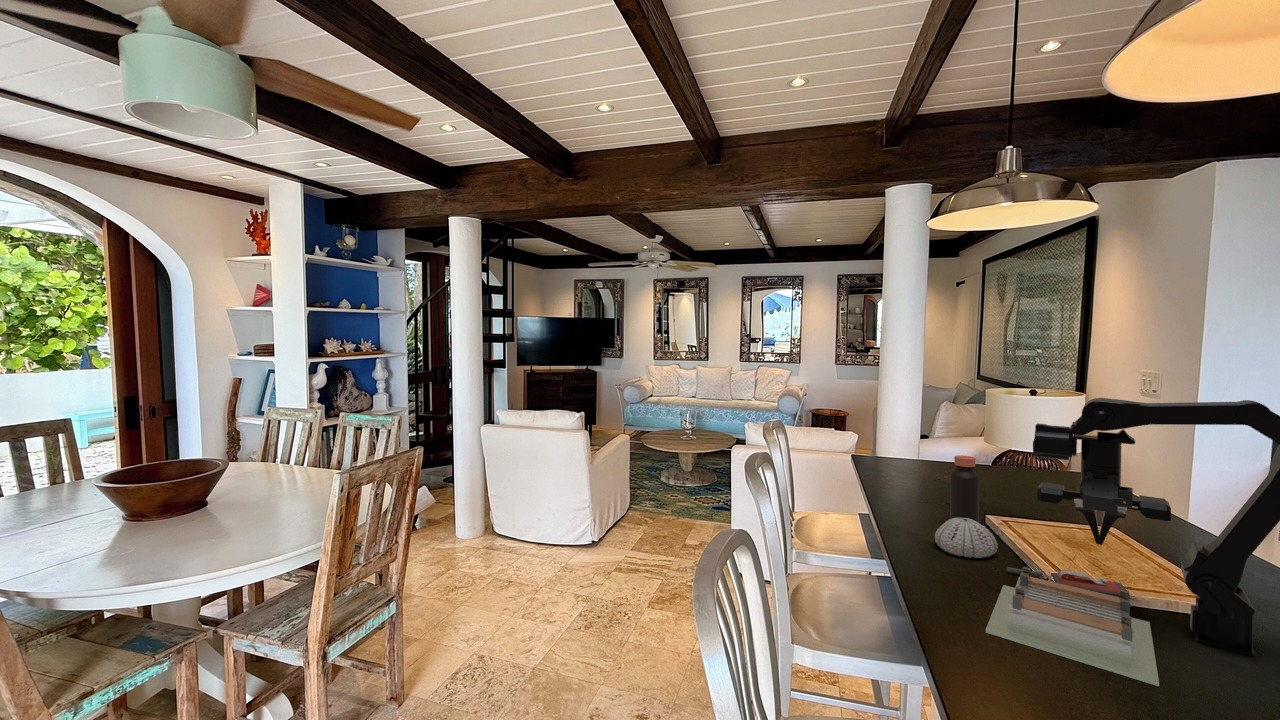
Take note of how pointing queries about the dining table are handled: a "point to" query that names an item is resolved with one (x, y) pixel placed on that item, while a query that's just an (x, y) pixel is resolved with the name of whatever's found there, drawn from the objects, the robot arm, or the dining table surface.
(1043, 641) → the heat sink board
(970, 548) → the sea urchin shell
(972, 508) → the bottle
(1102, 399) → the robot arm
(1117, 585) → the walkie-talkie
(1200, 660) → the dining table surface
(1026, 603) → the strap
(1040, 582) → the strap
